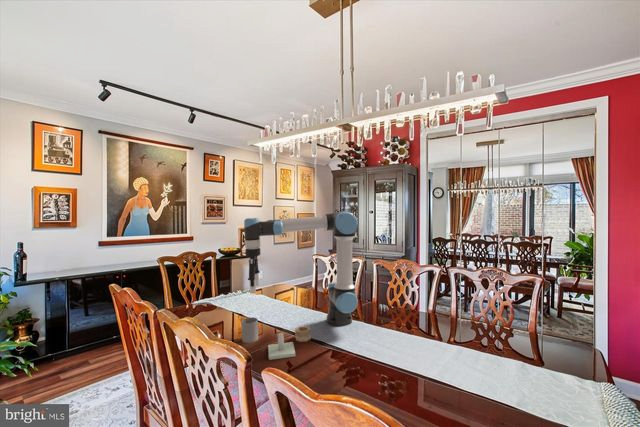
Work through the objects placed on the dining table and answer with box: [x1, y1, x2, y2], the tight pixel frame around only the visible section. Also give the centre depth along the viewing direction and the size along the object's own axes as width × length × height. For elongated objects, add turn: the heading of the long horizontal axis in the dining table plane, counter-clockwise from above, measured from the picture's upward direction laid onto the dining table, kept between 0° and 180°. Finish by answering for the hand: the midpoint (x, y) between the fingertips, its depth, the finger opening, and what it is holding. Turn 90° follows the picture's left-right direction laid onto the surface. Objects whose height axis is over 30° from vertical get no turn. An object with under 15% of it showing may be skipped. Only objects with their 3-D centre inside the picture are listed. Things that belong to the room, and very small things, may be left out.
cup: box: [240, 316, 259, 344], centre depth 160 cm, size 8×8×10 cm
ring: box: [294, 325, 312, 343], centre depth 158 cm, size 8×8×5 cm
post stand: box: [267, 332, 296, 361], centre depth 144 cm, size 12×12×8 cm
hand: (254, 289), depth 157 cm, fingers open, 13 cm apart
